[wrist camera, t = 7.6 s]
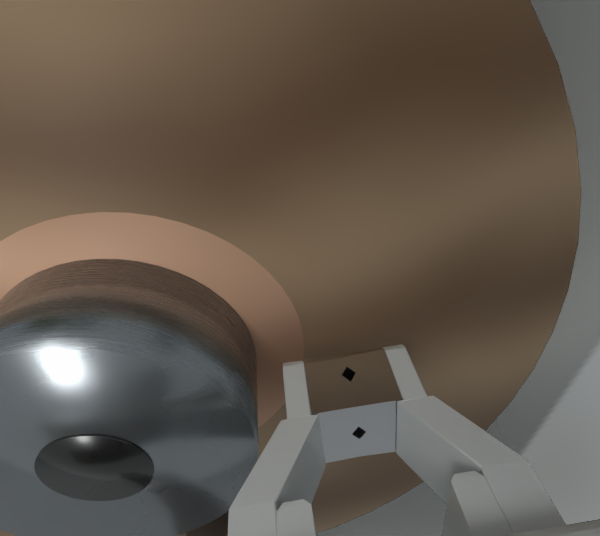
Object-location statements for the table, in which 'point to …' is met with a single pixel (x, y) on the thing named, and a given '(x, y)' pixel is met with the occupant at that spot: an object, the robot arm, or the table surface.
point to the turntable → (307, 182)
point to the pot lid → (122, 402)
